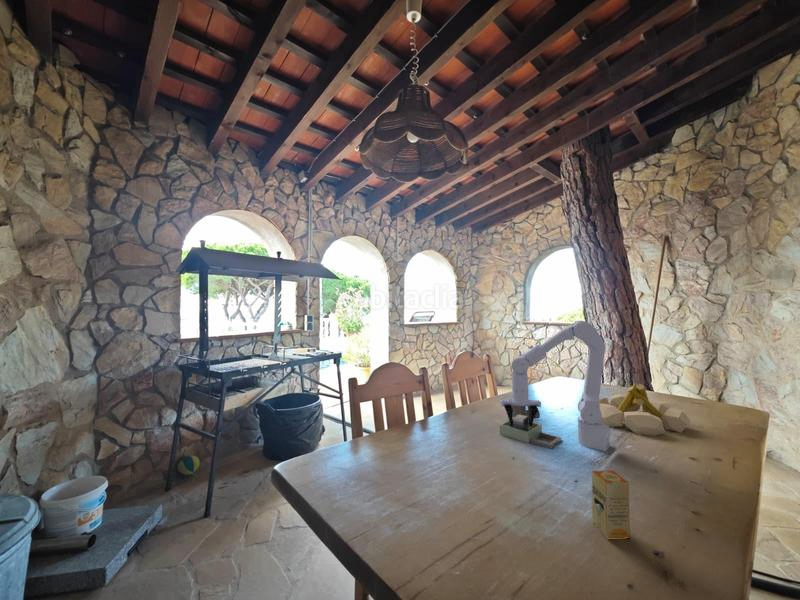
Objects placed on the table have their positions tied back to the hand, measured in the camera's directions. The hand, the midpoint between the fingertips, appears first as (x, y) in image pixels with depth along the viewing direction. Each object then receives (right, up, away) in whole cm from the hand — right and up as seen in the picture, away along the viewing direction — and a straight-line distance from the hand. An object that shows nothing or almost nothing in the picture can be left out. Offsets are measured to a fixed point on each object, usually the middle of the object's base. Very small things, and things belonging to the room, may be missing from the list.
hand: (520, 425), depth 125 cm
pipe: (+9, -5, +20) cm, 22 cm away
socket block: (+6, -4, -6) cm, 10 cm away
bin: (0, -4, 0) cm, 4 cm away
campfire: (+55, -5, +17) cm, 57 cm away
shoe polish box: (0, -4, -52) cm, 53 cm away
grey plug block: (0, -4, 0) cm, 4 cm away
